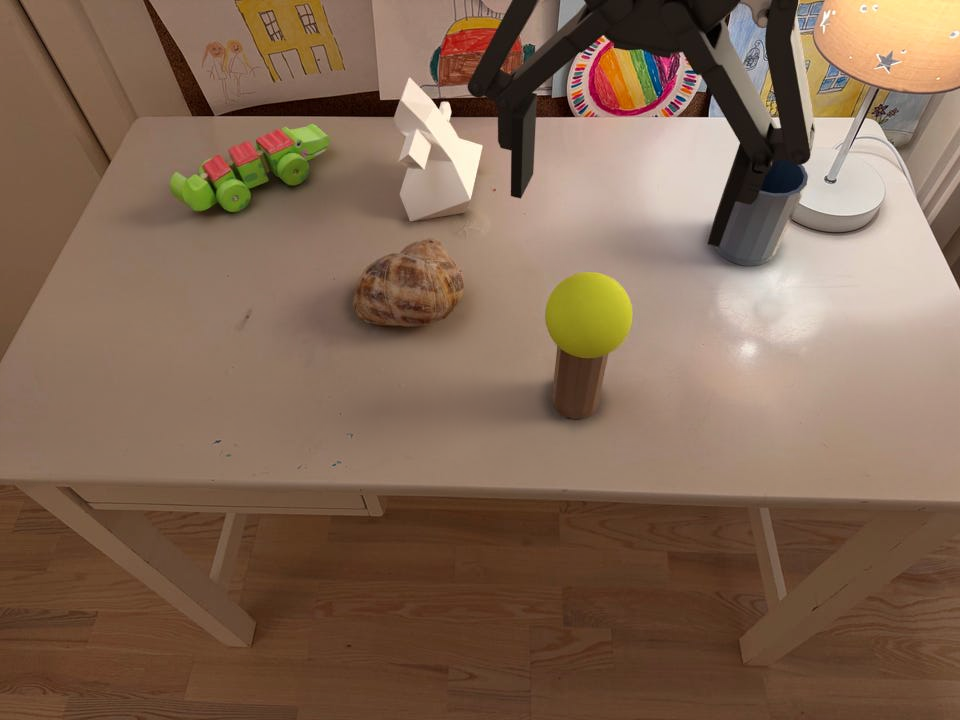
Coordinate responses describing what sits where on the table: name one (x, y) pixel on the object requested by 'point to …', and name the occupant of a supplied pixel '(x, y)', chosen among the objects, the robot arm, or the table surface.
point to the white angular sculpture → (433, 158)
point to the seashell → (409, 286)
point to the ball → (588, 315)
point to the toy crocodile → (250, 168)
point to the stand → (577, 384)
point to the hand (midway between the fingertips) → (616, 208)
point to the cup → (764, 216)
